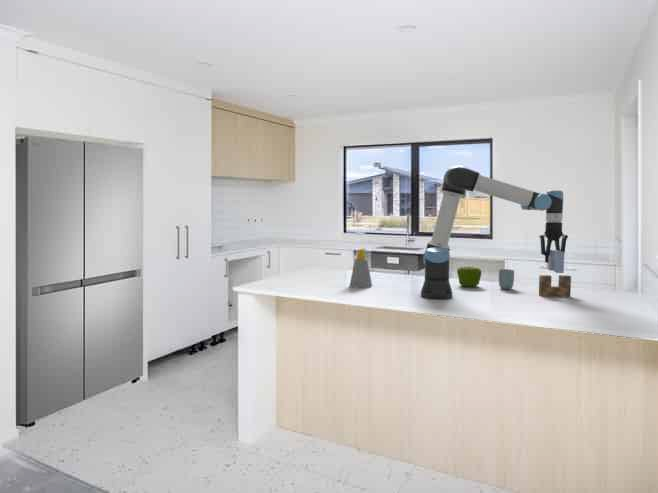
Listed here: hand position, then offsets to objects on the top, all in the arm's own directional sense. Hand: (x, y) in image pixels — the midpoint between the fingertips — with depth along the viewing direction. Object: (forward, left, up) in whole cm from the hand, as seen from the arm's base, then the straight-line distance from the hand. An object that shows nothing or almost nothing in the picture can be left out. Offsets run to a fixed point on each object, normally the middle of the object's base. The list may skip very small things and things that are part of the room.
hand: (552, 268), depth 249 cm
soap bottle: (-95, +19, -13) cm, 98 cm away
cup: (-18, +15, -13) cm, 27 cm away
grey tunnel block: (0, -4, -1) cm, 4 cm away
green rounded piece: (-36, +22, -13) cm, 44 cm away
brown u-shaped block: (0, -4, -13) cm, 13 cm away
